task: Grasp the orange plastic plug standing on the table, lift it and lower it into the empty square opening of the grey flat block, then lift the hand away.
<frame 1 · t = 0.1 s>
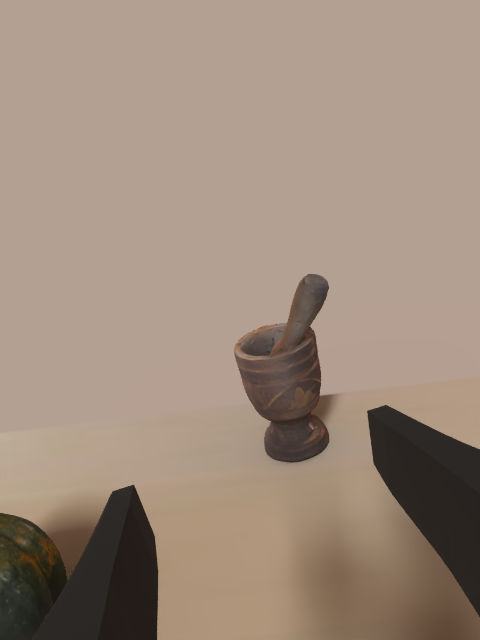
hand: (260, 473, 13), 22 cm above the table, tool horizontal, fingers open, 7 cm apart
mortar and pestle: (311, 445, 49), on the table
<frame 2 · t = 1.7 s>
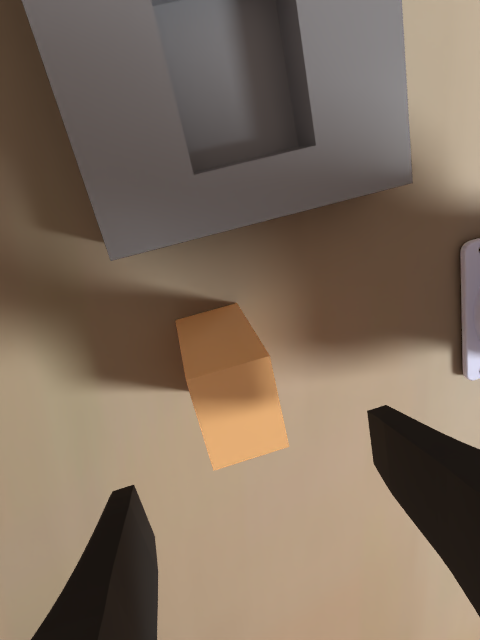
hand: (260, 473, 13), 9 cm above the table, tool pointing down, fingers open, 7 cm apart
grey flat block: (212, 28, 17), on the table
plug: (216, 348, 21), on the table
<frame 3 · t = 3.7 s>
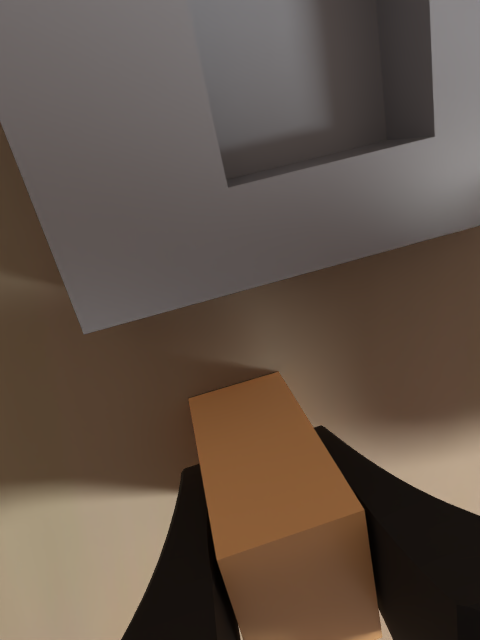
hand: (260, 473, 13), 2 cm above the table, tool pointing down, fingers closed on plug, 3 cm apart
plug: (246, 435, 15), on the table, touching gripper
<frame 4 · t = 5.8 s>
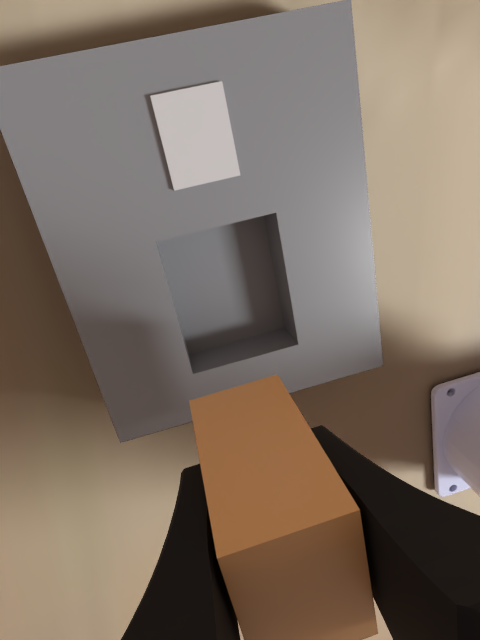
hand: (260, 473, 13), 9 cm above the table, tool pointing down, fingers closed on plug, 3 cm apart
grey flat block: (210, 235, 19), on the table
plug: (246, 436, 15), point 7 cm above the table, touching gripper
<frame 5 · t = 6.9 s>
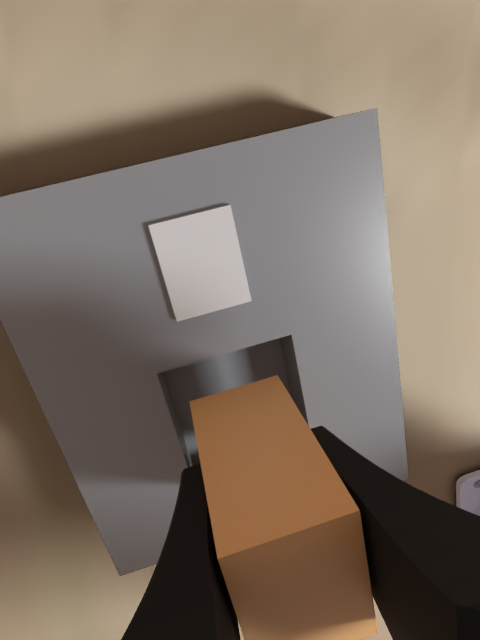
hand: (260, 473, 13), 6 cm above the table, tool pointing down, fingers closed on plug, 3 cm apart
grey flat block: (217, 340, 17), on the table
plug: (246, 437, 15), point 3 cm above the table, touching gripper
when the fingers open (4 cm above the table, at t = 8.0 s): plug drops 1 cm, resting on grey flat block.
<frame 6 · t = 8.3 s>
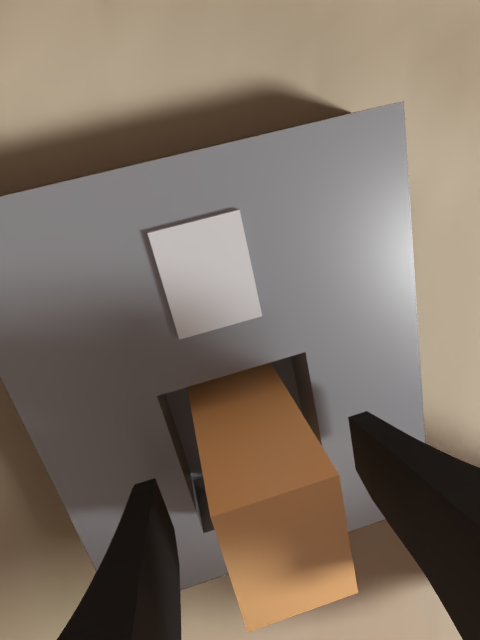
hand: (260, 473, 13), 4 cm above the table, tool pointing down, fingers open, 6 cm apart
grey flat block: (222, 355, 16), on the table
plug: (240, 419, 16), point 1 cm above the table, touching grey flat block
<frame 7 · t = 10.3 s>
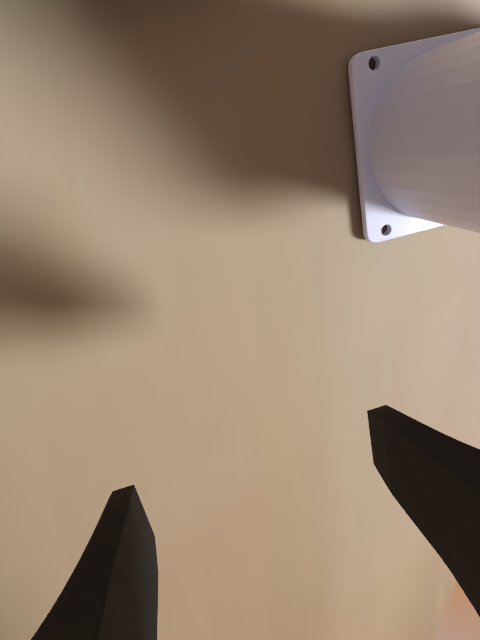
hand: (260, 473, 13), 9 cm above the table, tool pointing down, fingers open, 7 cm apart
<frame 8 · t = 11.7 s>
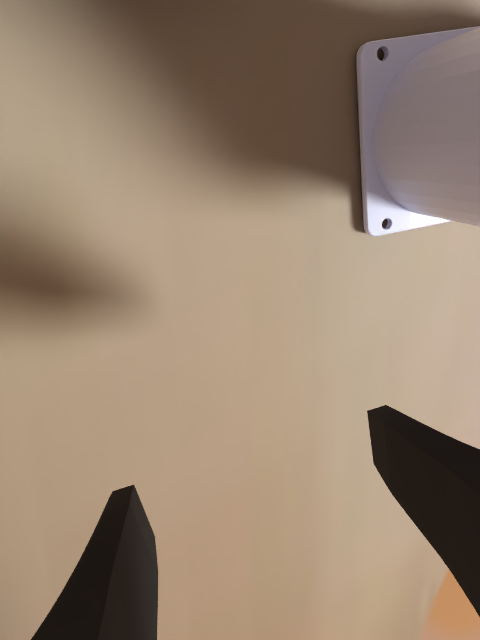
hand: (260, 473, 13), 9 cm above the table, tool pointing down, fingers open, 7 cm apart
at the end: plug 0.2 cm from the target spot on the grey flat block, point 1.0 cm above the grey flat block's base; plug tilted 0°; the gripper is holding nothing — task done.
